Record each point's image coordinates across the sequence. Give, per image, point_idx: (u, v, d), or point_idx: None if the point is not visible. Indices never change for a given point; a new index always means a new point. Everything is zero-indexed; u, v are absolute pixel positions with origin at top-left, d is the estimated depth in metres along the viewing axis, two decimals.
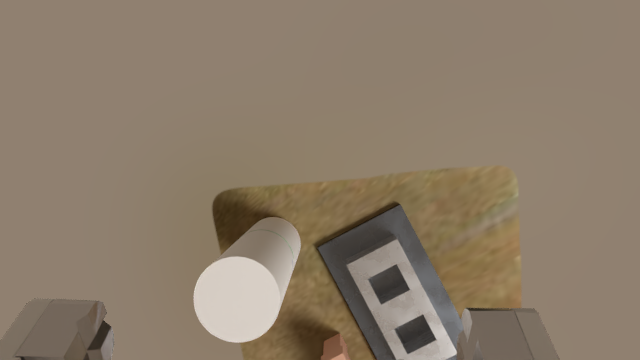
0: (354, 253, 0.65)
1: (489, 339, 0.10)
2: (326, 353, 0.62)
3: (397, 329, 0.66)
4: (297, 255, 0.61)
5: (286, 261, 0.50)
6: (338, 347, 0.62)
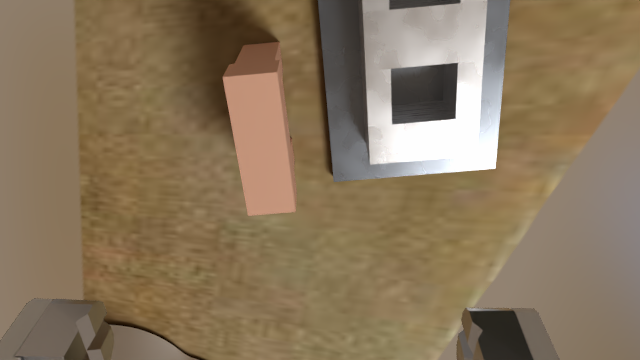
0: None
1: (489, 339, 0.10)
2: (242, 62, 0.30)
3: None
4: None
5: None
6: (271, 61, 0.30)
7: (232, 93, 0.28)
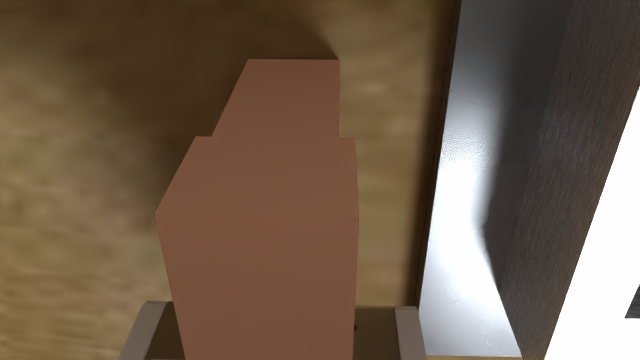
0: None
1: (362, 336, 0.10)
2: (236, 135, 0.10)
3: None
4: None
5: None
6: (328, 141, 0.09)
7: (189, 265, 0.08)
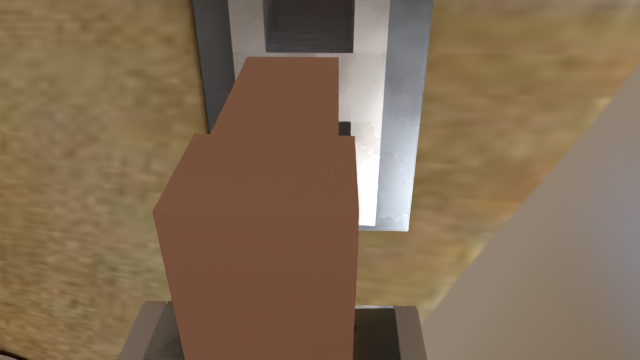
0: None
1: (361, 336, 0.10)
2: (235, 133, 0.10)
3: None
4: None
5: None
6: (327, 138, 0.09)
7: (187, 263, 0.08)
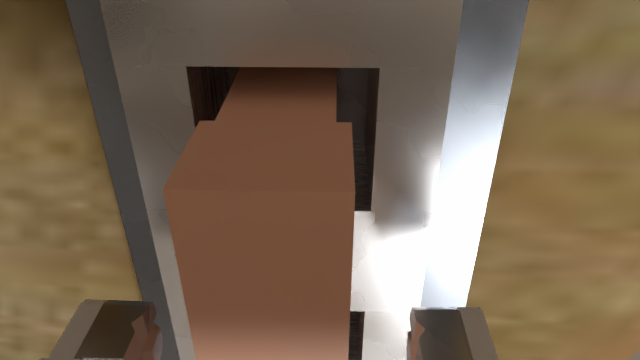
0: None
1: (430, 338, 0.10)
2: (237, 119, 0.10)
3: None
4: None
5: None
6: (326, 124, 0.10)
7: (194, 239, 0.08)
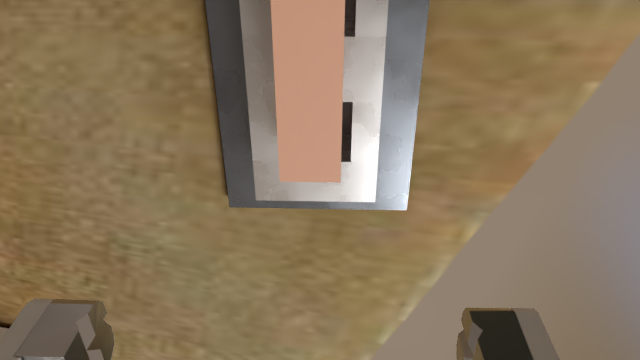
0: None
1: (489, 339, 0.10)
2: None
3: None
4: None
5: None
6: None
7: (280, 15, 0.21)
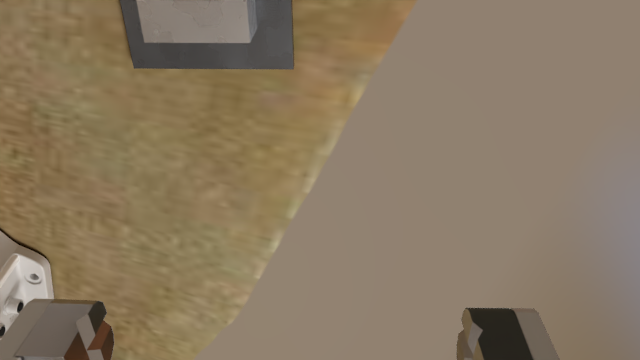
0: None
1: (489, 339, 0.10)
2: None
3: None
4: None
5: None
6: None
7: None
